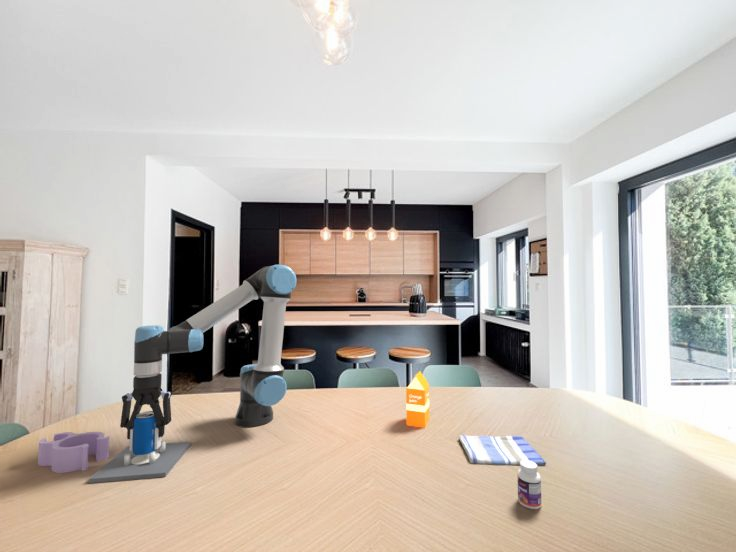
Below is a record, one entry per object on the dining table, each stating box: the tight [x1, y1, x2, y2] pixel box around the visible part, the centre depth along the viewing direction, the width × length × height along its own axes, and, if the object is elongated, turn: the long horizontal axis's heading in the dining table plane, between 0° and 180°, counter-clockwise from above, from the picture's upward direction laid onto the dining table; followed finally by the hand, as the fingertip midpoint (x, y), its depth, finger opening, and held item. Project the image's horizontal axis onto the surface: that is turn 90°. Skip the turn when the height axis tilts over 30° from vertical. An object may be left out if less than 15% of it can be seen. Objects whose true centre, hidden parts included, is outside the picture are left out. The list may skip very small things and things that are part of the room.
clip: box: [37, 431, 110, 474], centre depth 105 cm, size 20×12×7 cm, turn 79°
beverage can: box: [133, 410, 158, 457], centre depth 104 cm, size 6×6×12 cm
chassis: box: [88, 441, 192, 484], centre depth 104 cm, size 20×20×4 cm
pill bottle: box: [516, 460, 542, 510], centre depth 84 cm, size 5×5×10 cm
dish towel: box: [457, 434, 547, 466], centre depth 110 cm, size 17×24×3 cm
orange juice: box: [405, 370, 430, 429], centre depth 135 cm, size 8×9×20 cm
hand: (145, 447), depth 104 cm, fingers closed on beverage can, 6 cm apart
